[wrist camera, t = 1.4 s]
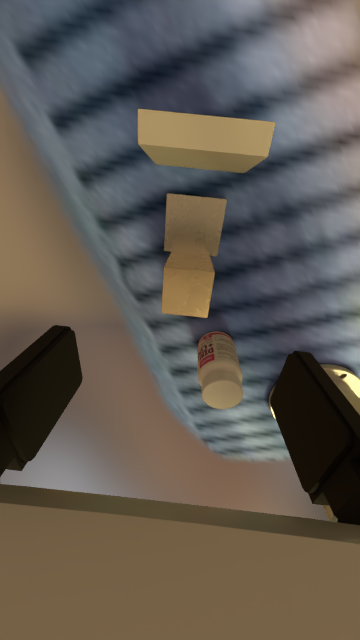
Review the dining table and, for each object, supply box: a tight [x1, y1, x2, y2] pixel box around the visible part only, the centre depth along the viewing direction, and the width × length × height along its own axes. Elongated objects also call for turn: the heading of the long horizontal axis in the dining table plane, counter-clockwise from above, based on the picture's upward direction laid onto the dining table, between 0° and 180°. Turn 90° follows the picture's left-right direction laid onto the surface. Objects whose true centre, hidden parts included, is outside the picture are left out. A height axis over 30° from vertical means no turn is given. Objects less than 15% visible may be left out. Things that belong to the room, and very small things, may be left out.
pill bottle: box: [198, 331, 243, 409], centre depth 24 cm, size 5×5×8 cm
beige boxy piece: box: [161, 193, 227, 318], centre depth 19 cm, size 9×6×7 cm, turn 175°
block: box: [138, 109, 276, 173], centre depth 16 cm, size 2×8×7 cm, turn 85°
